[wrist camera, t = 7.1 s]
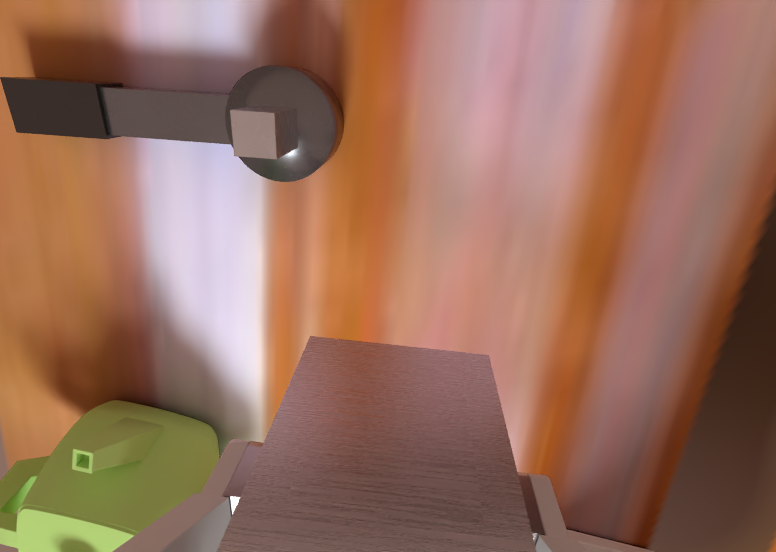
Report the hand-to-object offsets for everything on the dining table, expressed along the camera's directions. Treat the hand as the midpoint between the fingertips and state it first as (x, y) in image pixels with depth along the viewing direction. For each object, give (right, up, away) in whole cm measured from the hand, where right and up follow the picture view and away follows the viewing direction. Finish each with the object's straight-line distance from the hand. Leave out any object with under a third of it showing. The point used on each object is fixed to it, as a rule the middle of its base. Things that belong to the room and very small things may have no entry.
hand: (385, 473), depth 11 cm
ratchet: (-13, +16, +17) cm, 27 cm away
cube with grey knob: (0, +1, +2) cm, 2 cm away
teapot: (-22, -10, +31) cm, 39 cm away
